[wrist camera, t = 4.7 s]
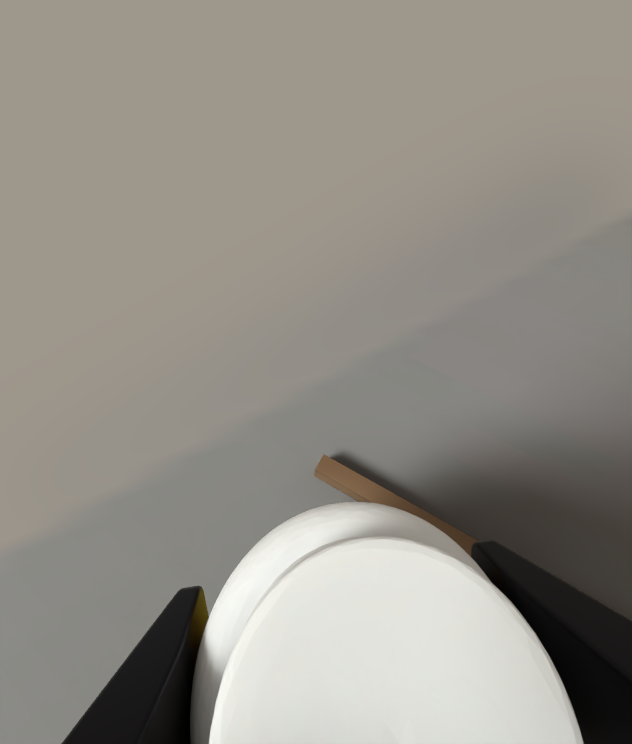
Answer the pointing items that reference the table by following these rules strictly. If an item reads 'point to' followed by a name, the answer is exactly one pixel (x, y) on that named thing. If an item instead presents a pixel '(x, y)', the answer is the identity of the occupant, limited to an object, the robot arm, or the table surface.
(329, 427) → the table surface
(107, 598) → the table surface
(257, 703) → the supplement bottle
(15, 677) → the table surface
